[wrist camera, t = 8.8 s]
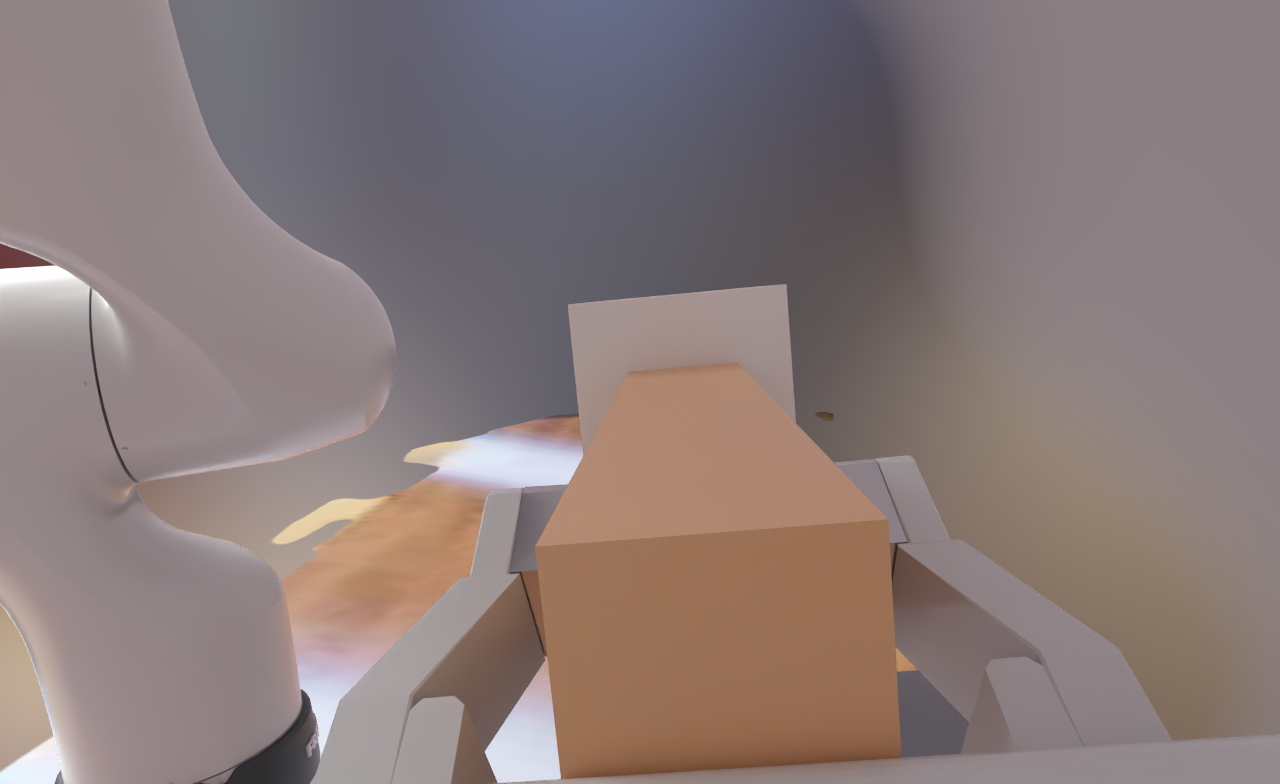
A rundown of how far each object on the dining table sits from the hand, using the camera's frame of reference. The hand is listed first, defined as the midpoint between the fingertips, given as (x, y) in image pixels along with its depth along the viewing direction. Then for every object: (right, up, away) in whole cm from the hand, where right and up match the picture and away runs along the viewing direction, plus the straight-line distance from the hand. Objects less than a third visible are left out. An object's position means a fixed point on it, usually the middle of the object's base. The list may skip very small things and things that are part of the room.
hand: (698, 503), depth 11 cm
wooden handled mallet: (0, -1, +6) cm, 6 cm away
